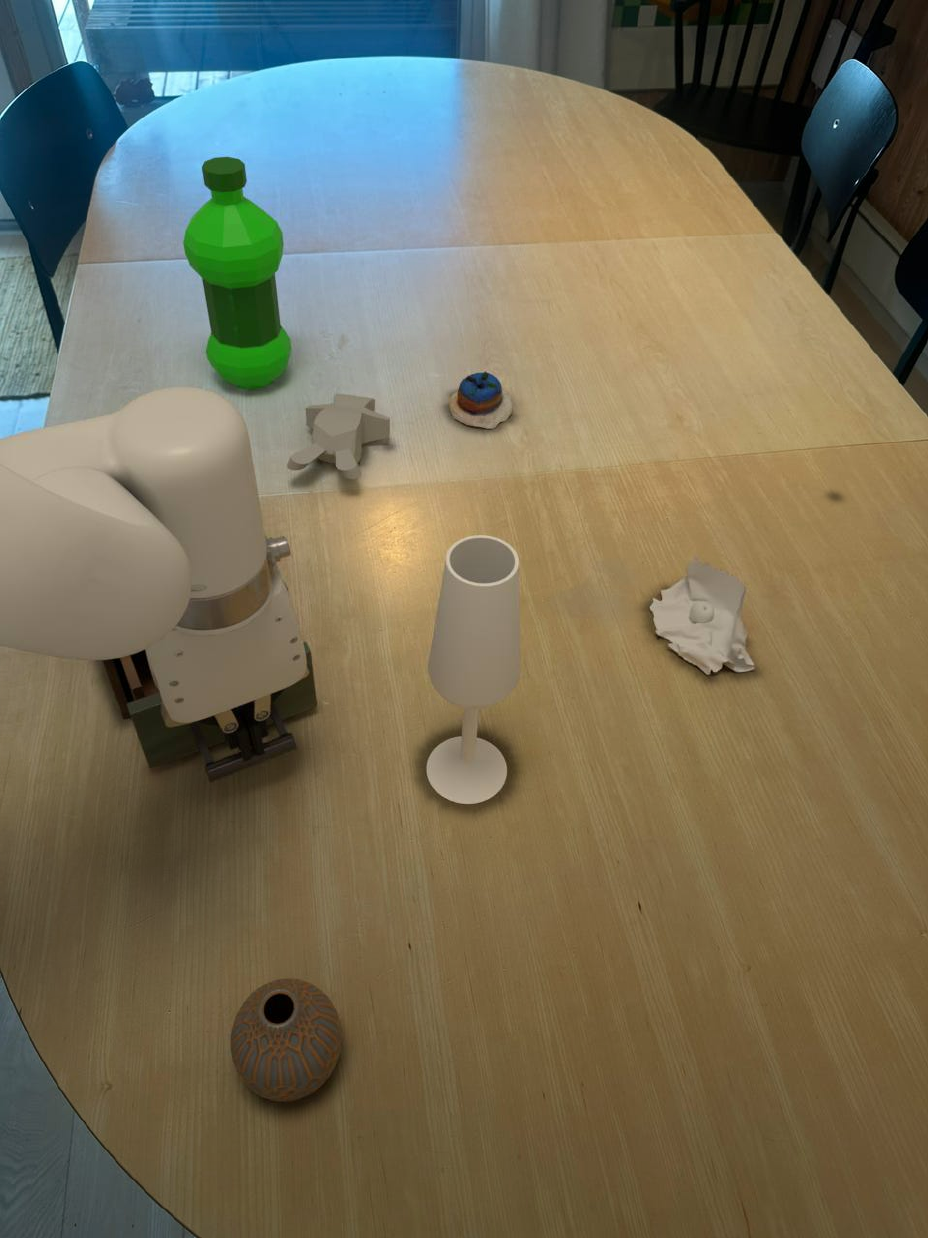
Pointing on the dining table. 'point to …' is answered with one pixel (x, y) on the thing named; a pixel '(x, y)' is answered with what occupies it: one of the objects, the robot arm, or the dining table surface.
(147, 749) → the drawer
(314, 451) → the bunny figurine
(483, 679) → the champagne flute
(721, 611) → the fabric
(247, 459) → the robot arm
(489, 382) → the dessert
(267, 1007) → the vase
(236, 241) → the plastic bottle
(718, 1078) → the dining table surface
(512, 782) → the dining table surface
